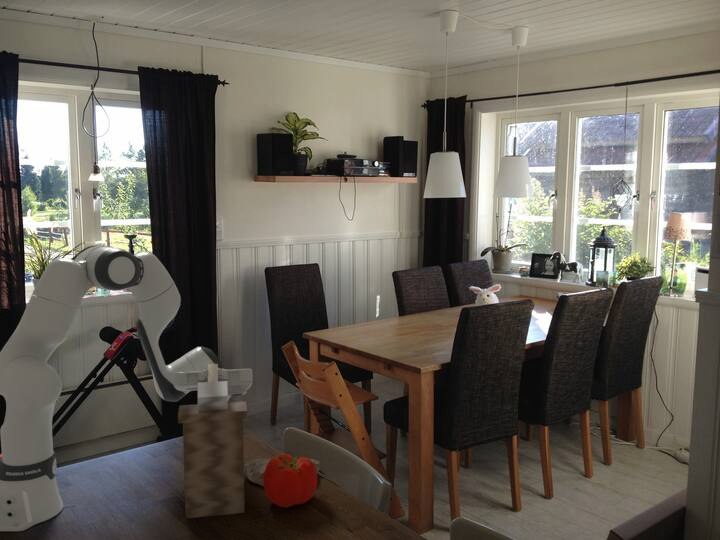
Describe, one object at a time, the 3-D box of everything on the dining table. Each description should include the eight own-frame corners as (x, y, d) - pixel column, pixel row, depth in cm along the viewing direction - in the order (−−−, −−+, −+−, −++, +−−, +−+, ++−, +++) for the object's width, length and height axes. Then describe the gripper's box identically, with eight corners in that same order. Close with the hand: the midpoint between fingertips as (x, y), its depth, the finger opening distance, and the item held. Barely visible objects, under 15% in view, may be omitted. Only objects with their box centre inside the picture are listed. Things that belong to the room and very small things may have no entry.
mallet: (198, 411, 158) (197, 397, 156) (199, 373, 171) (198, 360, 169) (228, 409, 159) (227, 395, 157) (226, 372, 173) (226, 359, 171)
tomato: (253, 506, 165) (252, 461, 163) (287, 484, 177) (287, 442, 175) (297, 520, 158) (296, 473, 157) (329, 496, 170) (329, 453, 169)
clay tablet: (237, 487, 176) (311, 491, 173) (236, 469, 175) (310, 473, 173) (252, 466, 190) (321, 469, 187) (252, 450, 189) (321, 453, 187)
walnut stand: (181, 519, 158) (177, 415, 155) (182, 506, 165) (179, 405, 162) (248, 513, 161) (247, 410, 158) (247, 500, 168) (246, 401, 165)
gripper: (174, 375, 179) (170, 362, 166) (251, 371, 183) (252, 358, 170) (174, 398, 176) (170, 387, 164) (251, 394, 181) (253, 382, 168)
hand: (212, 372), depth 167 cm, fingers closed on mallet, 2 cm apart
